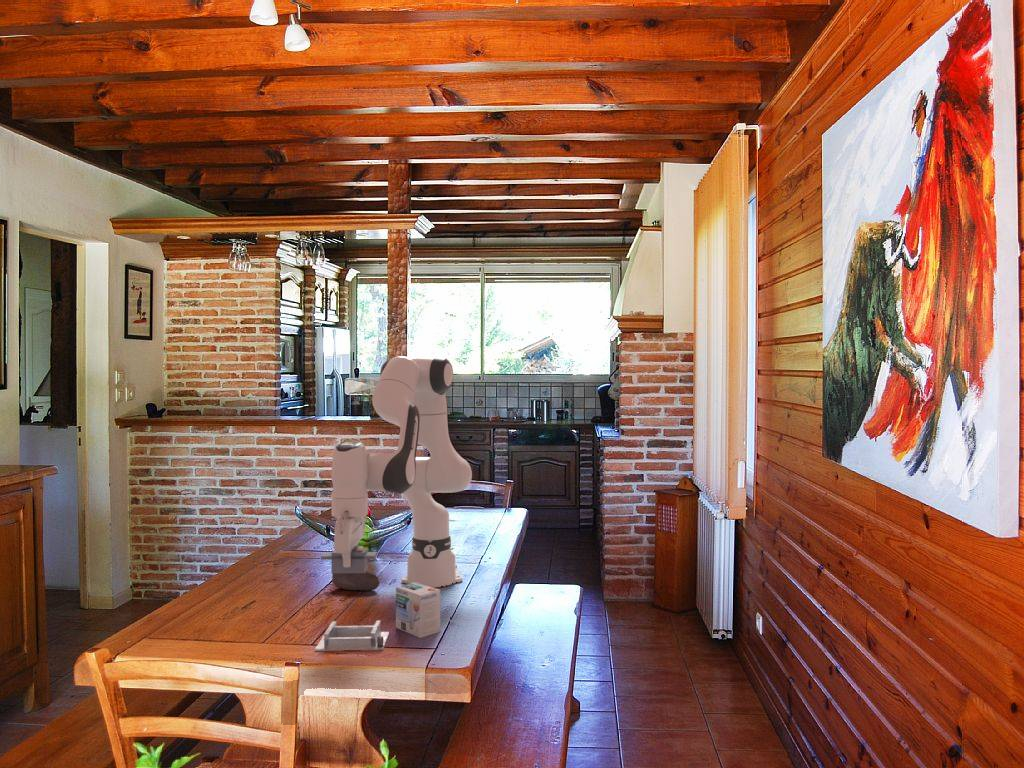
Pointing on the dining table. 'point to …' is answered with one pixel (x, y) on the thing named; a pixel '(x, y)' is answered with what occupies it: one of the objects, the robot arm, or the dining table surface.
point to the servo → (358, 560)
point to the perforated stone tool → (356, 581)
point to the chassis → (353, 638)
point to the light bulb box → (418, 609)
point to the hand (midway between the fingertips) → (349, 563)
